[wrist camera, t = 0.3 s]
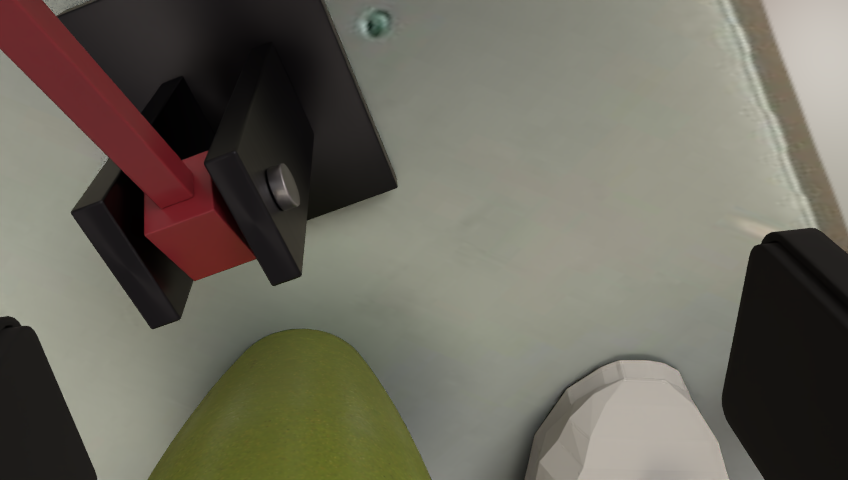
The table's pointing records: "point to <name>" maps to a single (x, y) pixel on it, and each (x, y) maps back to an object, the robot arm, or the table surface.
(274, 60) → the switch bracket
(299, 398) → the flower pot
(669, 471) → the iron
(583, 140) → the table surface
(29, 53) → the switch lever
